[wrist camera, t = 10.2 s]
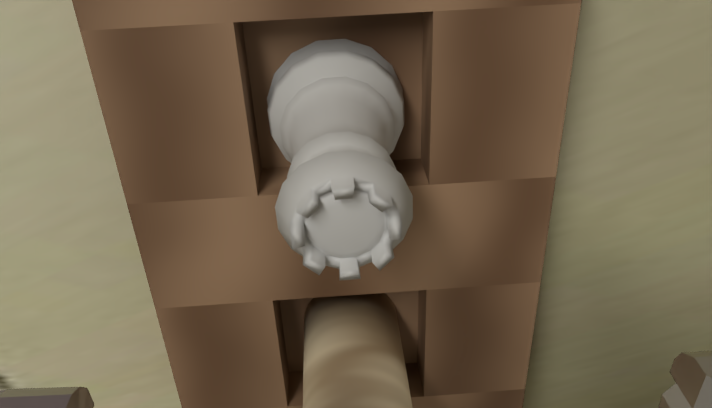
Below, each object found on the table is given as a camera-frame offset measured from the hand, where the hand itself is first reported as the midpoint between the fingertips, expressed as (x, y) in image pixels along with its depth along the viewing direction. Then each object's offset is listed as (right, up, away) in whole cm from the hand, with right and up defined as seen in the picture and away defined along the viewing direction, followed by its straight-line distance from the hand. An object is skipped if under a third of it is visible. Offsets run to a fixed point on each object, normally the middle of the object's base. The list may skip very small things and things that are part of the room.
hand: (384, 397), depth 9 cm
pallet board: (-1, +3, +15) cm, 15 cm away
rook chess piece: (-1, +6, +12) cm, 14 cm away
